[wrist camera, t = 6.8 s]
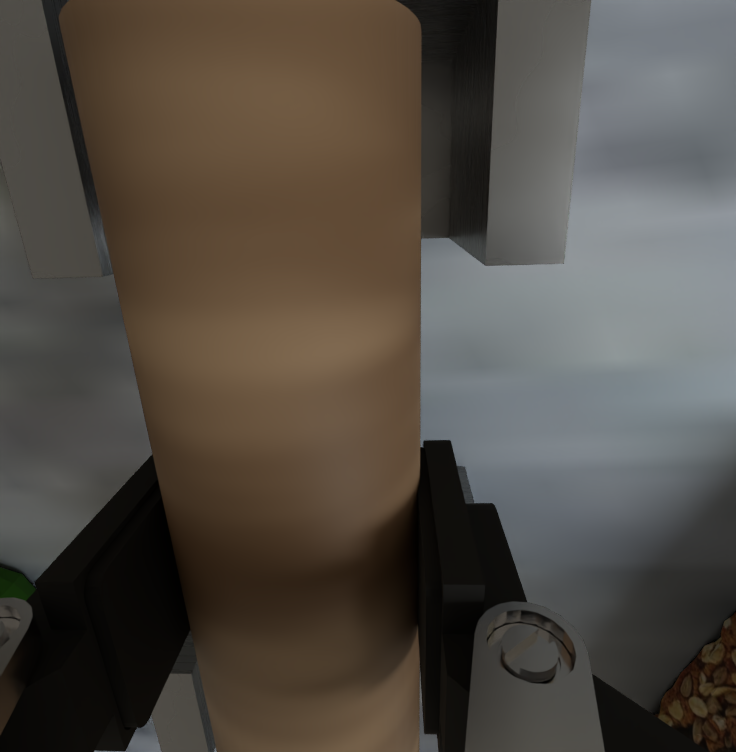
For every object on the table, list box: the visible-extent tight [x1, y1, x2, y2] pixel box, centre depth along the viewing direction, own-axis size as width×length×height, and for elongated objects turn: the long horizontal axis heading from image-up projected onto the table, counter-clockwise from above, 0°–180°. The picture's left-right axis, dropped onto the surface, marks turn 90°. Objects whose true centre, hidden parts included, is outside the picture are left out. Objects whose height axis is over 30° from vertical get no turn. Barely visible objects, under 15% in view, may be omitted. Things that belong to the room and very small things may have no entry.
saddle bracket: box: [152, 467, 474, 752], centre depth 16 cm, size 9×3×9 cm, turn 92°
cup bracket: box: [0, 0, 591, 279], centre depth 11 cm, size 9×5×9 cm, turn 92°
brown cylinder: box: [59, 0, 421, 752], centre depth 9 cm, size 16×4×4 cm, turn 2°
